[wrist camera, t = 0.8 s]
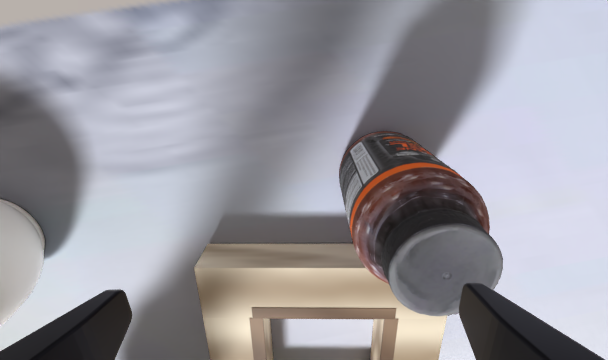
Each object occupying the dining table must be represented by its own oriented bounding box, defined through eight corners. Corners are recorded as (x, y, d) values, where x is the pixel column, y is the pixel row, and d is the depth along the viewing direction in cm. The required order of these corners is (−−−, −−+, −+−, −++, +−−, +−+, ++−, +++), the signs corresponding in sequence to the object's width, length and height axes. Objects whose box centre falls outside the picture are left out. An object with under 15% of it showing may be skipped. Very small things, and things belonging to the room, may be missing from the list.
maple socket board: (412, 399, 30) (423, 434, 27) (231, 397, 30) (223, 431, 27) (439, 243, 23) (457, 268, 20) (207, 243, 24) (193, 268, 21)
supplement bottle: (438, 145, 20) (576, 232, 10) (399, 218, 22) (479, 355, 12) (356, 115, 20) (409, 175, 9) (325, 193, 22) (338, 315, 11)
